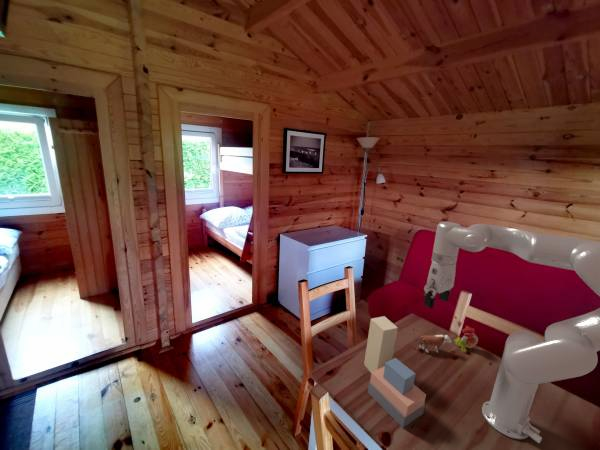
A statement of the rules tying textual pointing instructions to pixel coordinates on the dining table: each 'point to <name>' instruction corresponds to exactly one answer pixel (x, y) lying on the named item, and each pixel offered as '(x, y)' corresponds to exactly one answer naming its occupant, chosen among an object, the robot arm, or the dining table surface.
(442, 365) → the dining table surface
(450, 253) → the robot arm
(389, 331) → the toy refrigerator
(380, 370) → the pink and grey block
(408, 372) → the slate brick
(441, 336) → the bull figurine
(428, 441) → the dining table surface
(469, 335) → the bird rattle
